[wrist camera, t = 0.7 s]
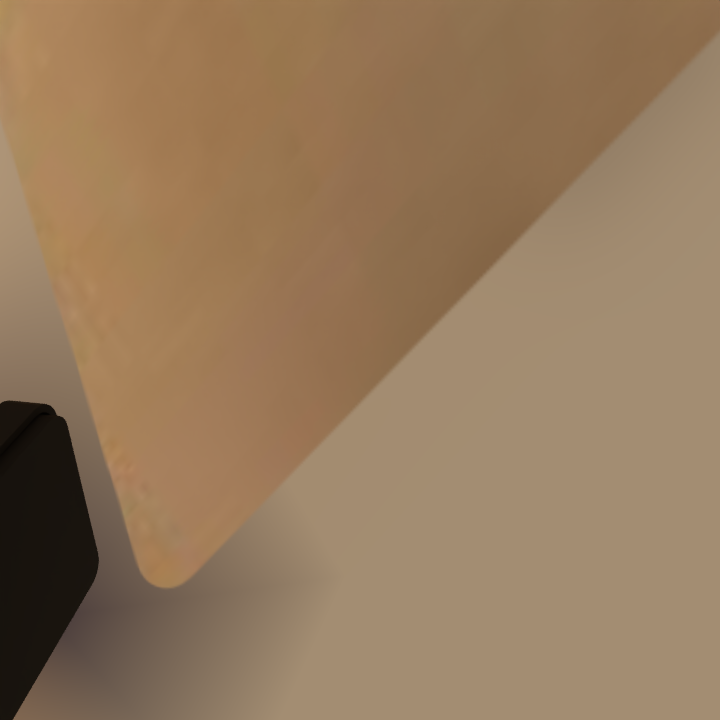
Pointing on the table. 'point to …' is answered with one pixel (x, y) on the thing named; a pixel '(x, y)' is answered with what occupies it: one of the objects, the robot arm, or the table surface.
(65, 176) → the table surface
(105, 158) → the table surface
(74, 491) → the robot arm
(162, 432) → the table surface
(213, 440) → the table surface
